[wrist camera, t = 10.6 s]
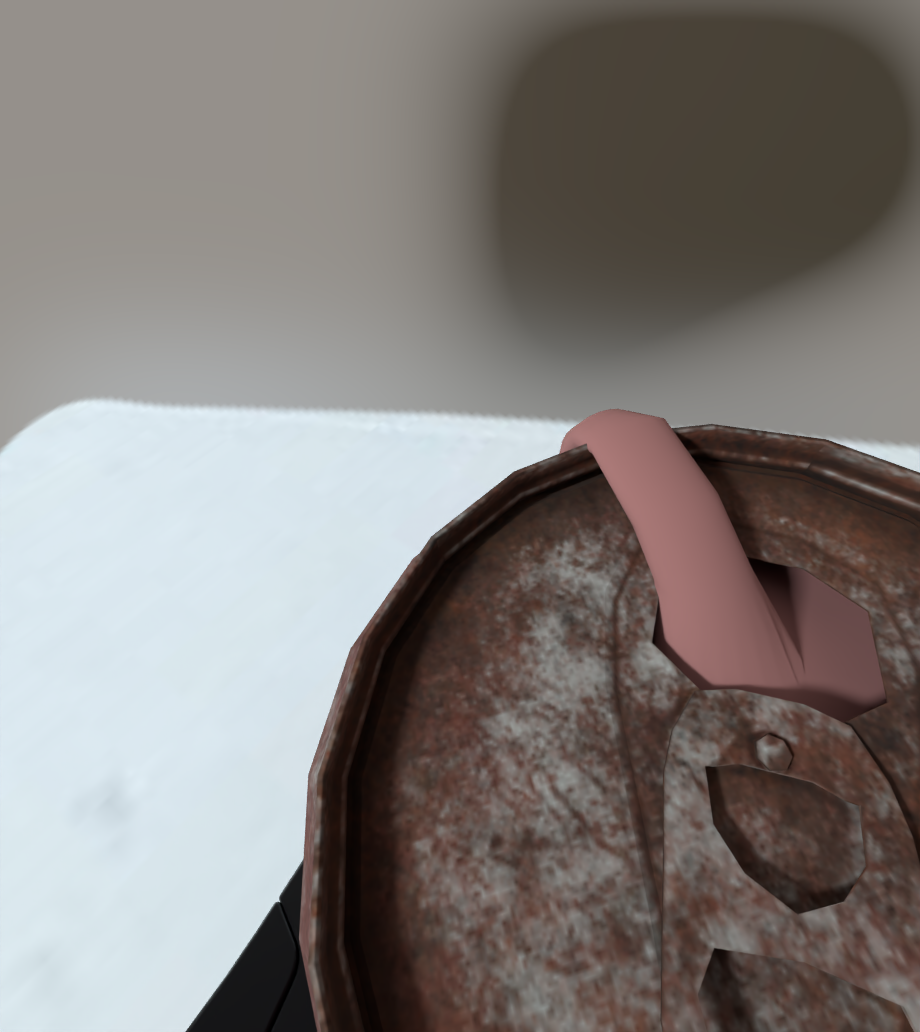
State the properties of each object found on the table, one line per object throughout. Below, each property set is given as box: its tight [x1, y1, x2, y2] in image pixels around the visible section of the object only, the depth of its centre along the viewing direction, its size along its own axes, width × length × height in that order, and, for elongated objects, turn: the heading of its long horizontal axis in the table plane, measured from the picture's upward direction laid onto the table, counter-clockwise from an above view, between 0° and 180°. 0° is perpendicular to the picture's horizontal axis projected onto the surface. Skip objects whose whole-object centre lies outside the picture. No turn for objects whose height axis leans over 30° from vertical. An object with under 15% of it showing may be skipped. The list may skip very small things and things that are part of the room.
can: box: [299, 409, 920, 1032], centre depth 9 cm, size 6×6×14 cm
